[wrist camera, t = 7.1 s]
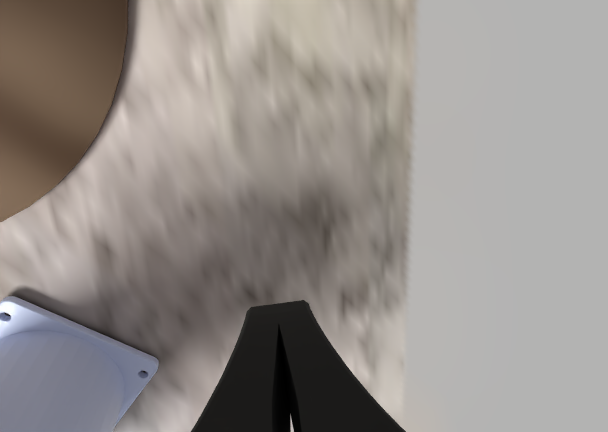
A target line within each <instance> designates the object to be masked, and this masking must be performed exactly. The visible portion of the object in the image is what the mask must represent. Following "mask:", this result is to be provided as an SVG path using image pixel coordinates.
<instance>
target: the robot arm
mask: <svg viewBox="0 0 608 432" xmlns="http://www.w3.org/2000/svg"><path fill="white" fill-rule="evenodd" d="M4 312H5V313H8V314H9V315H10V316H7V315H5V314H4ZM158 366H159V361H158V360H157V359H156V358H155V357H153V356H151V355H149V354H146V353H144V352H142V351H139V350H137V349H135V348H132V347H130V346H128V345H125V344H123V343H121V342H119V341H116V340H114V339H112V338H109V337H107V336H105V335H102V334H100V333H98V332H96V331H93V330H91V329H89V328H86V327H84V326H82V325H79V324H77V323H75V322H73V321H70V320H68V319H66V318H63V317H61V316H59V315H56V314H54V313H52V312H50V311H47V310H45V309H43V308H40V307H38V306H36V305H33V304H31V303H29V302H27V301H24V300H22V299H20V298H17V297H14V296H8V297H5V298H4V299H3V300H2V301H1V302H0V432H113V430H114V427H115V426H116V424H117V423H118V422H119V420H120V419H121V418H122V416H123V415H124V414H125V412H126V411H127V410H128V408H129V407H130V406H131V405H132V403H133V402H134V401H135V399H136V398H137V397H138V395H139V394H140V393H141V391H142V390H143V389H144V387H145V386H146V385H147V383H148V382H149V381H150V379H151V378H152V377H153V375H154V374H155V373H156V372H157V369H158ZM141 371H146V373H144V372H141ZM290 413H291V418H292V424H293V429H294V432H406V431H405V430H404V429H402V428H401V427H400V426H399V425H398V424H397V423H396V422H395V420H394V419H393V418H392V417H391V416H390V415H389V414H388V413H387V412H386V411H385V410H384V409H383V408H382V407H381V406H380V405H379V404H378V403H377V402H376V400H375V399H374V398H373V397H372V396H371V395H370V394H369V393H368V391H367V390H366V389H365V388H364V387H363V385H362V384H361V383H360V382H359V381H358V379H357V378H356V377H355V376H354V375H353V373H352V372H351V371H350V369H349V368H348V367H347V366H346V364H345V363H344V362H343V360H342V359H341V357H340V356H339V355H338V353H337V352H336V350H335V349H334V348H333V346H332V345H331V343H330V342H329V340H328V339H327V337H326V336H325V334H324V333H323V331H322V329H321V328H320V326H319V324H318V323H317V321H316V319H315V317H314V315H313V313H312V311H311V309H310V306H309V304H308V303H307V302H305V301H304V300H302V301H294V302H287V303H279V304H272V305H264V306H256V307H251V308H250V309H249V310H248V311H247V313H246V317H245V321H244V324H243V327H242V330H241V333H240V335H239V338H238V341H237V343H236V345H235V348H234V350H233V353H232V355H231V357H230V359H229V361H228V364H227V366H226V368H225V370H224V372H223V375H222V377H221V379H220V381H219V383H218V384H217V386H216V388H215V390H214V392H213V394H212V396H211V397H210V399H209V401H208V403H207V405H206V407H205V409H204V411H203V412H202V414H201V416H200V417H199V419H198V421H197V423H196V424H195V426H194V428H193V429H192V431H191V432H290Z"/></svg>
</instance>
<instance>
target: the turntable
mask: <svg viewBox="0 0 608 432" xmlns="http://www.w3.org/2000/svg"><path fill="white" fill-rule="evenodd" d="M127 33H128V0H0V222H2V221H4V220H6V219H7V218H9V217H11V216H13V215H15V214H16V213H18V212H20V211H22V210H24V209H25V208H27V207H29V206H31V205H32V204H33V203H34V202H36V201H37V200H38V199H40V198H41V197H42V196H43V195H45V194H46V193H47V192H49V191H50V190H51V189H52V188H54V187H55V186H56V185H57V184H58V183H59V182H60V181H61V180H62V179H63V178H64V177H65V176H66V175H67V174H68V173H69V172H70V171H71V170H72V169H73V167H74V166H75V165H76V164H77V163H78V162H79V161H80V160H81V158H82V157H83V155H84V154H85V152H86V151H87V149H88V148H89V146H90V145H91V143H92V142H93V140H94V139H95V138H96V136H97V134H98V132H99V130H100V128H101V126H102V124H103V122H104V120H105V118H106V115H107V113H108V111H109V109H110V107H111V105H112V102H113V98H114V95H115V92H116V88H117V85H118V82H119V78H120V75H121V71H122V66H123V59H124V53H125V46H126V39H127Z"/></svg>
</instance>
